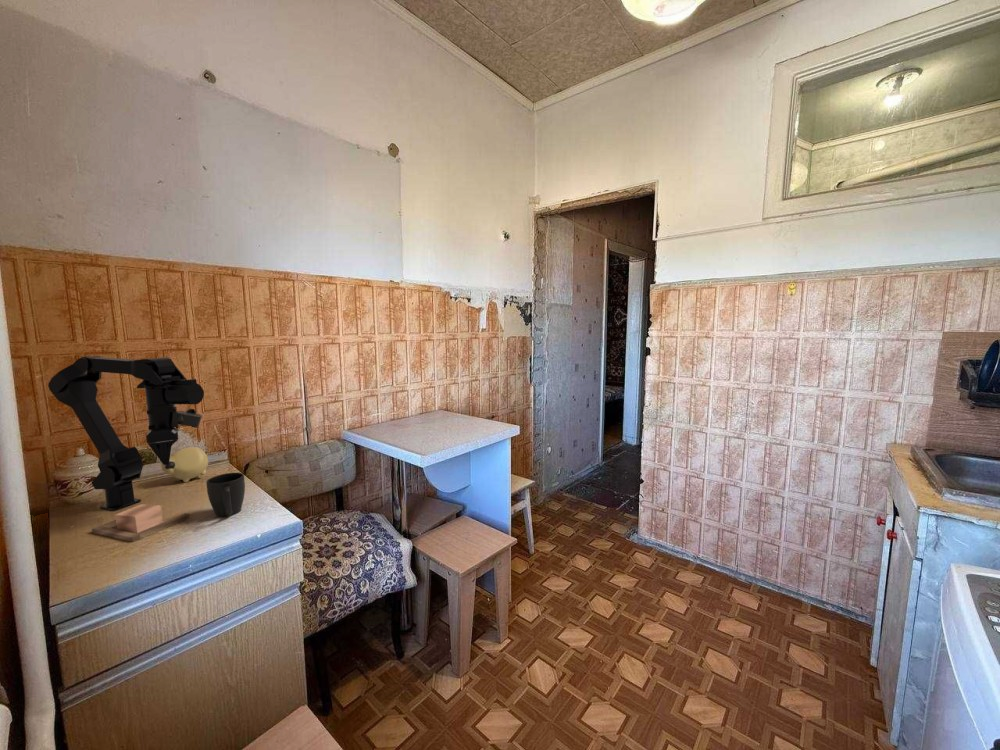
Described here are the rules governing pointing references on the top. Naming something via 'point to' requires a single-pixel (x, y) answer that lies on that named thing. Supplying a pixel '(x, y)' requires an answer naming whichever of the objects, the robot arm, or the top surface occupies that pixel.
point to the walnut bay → (108, 531)
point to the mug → (226, 493)
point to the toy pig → (187, 464)
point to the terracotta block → (139, 518)
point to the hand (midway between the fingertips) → (166, 460)
